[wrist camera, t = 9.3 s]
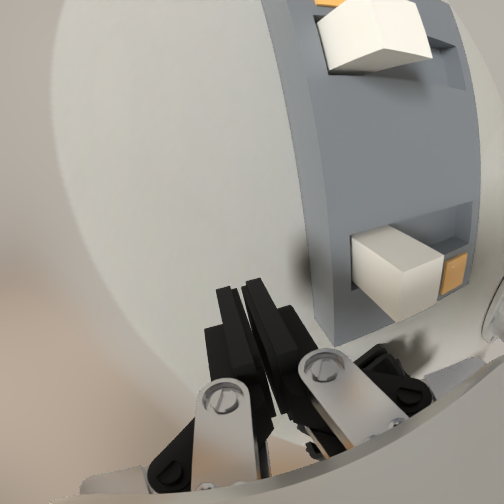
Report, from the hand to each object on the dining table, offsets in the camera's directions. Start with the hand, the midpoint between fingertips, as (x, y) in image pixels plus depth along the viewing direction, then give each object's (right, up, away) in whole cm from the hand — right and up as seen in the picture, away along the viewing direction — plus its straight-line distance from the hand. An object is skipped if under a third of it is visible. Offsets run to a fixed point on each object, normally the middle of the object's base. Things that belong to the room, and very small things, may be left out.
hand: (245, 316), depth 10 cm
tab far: (+6, +3, +4) cm, 7 cm away
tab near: (+4, +12, 0) cm, 12 cm away
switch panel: (+8, +9, +3) cm, 12 cm away
